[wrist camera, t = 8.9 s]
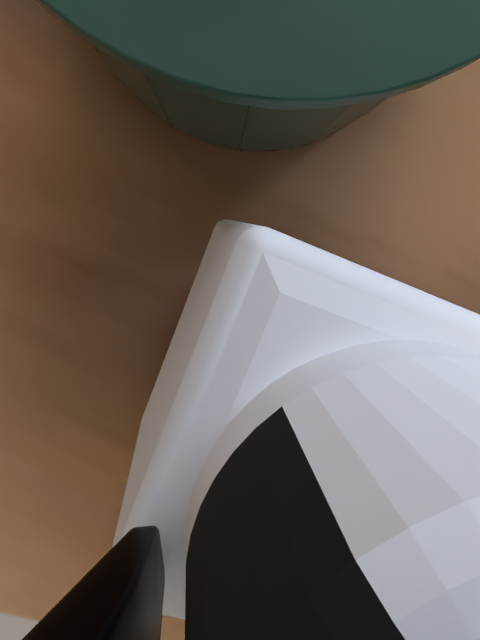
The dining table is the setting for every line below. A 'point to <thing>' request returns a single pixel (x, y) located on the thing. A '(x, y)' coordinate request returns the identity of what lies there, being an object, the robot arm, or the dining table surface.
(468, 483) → the medicine bottle
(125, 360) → the dining table surface
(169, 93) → the pot
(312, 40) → the pot lid
